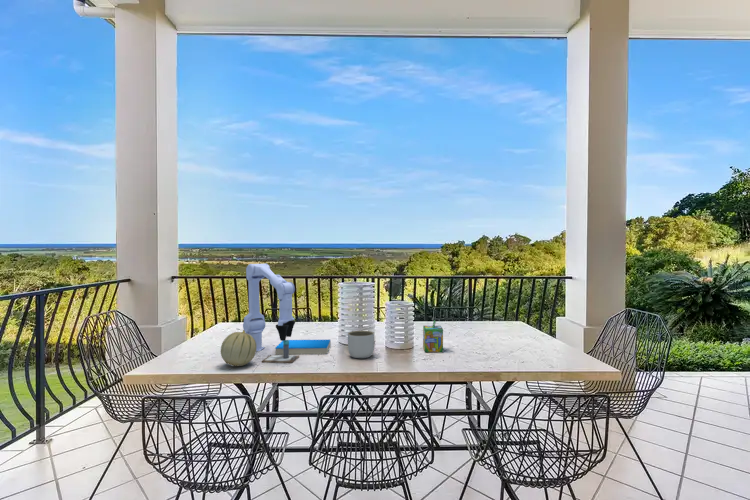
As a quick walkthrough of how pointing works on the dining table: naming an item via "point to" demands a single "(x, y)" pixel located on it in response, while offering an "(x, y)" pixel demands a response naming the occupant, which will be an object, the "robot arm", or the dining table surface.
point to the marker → (286, 349)
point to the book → (305, 347)
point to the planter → (361, 344)
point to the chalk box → (433, 338)
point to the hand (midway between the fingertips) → (285, 338)
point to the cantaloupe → (238, 348)
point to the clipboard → (279, 359)
